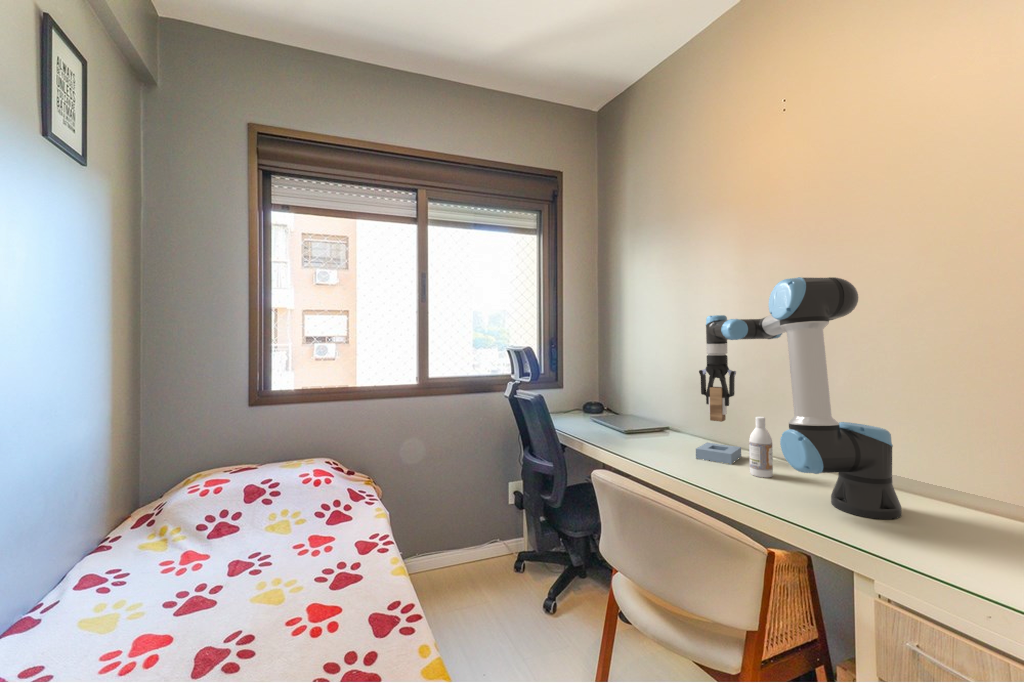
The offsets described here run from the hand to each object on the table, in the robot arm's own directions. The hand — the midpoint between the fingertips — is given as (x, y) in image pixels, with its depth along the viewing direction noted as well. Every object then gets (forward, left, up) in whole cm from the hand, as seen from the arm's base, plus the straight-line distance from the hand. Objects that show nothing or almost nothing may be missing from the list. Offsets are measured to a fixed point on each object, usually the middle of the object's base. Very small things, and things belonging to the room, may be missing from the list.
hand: (717, 413), depth 174 cm
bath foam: (-13, -18, -18) cm, 29 cm away
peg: (0, 0, -3) cm, 3 cm away
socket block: (0, 0, -18) cm, 18 cm away
